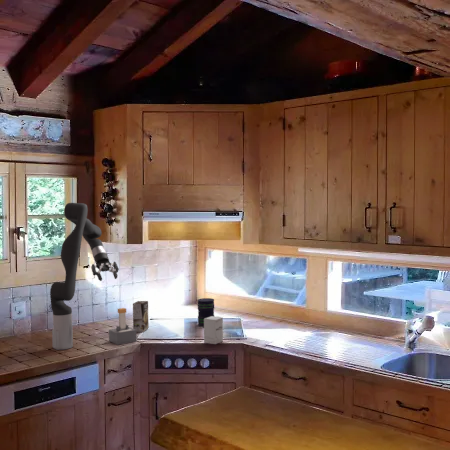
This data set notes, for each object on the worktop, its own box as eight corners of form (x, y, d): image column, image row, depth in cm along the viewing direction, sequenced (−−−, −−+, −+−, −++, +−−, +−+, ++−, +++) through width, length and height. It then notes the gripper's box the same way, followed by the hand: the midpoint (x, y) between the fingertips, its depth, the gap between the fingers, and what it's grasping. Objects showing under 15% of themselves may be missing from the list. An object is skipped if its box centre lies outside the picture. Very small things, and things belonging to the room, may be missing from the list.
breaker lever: (118, 329, 293) (117, 308, 292) (124, 328, 295) (123, 307, 295) (120, 330, 291) (119, 309, 290) (126, 329, 293) (126, 308, 292)
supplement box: (215, 344, 283) (215, 319, 283) (203, 342, 287) (203, 318, 286) (223, 341, 289) (223, 317, 289) (211, 339, 293) (211, 315, 293)
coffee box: (143, 332, 312) (143, 303, 311) (132, 331, 313) (132, 303, 313) (149, 328, 321) (148, 300, 320) (138, 328, 322) (137, 300, 322)
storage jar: (204, 327, 321) (204, 301, 320) (194, 324, 328) (194, 299, 328) (218, 324, 327) (217, 299, 326) (208, 322, 335) (207, 297, 334)
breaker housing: (109, 341, 294) (108, 325, 294) (128, 337, 300) (127, 322, 300) (117, 344, 286) (116, 329, 285) (136, 341, 292) (136, 325, 292)
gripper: (89, 253, 306) (97, 276, 298) (113, 250, 314) (122, 273, 305) (86, 261, 311) (94, 284, 303) (110, 258, 319) (119, 281, 310)
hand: (108, 279), depth 304 cm, fingers open, 8 cm apart
